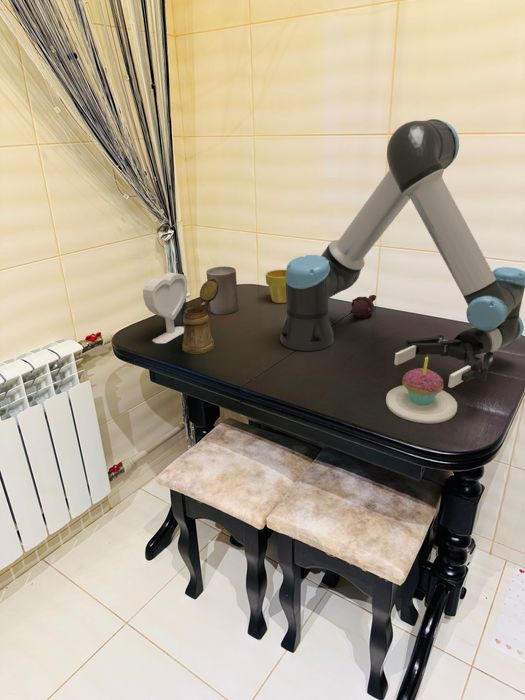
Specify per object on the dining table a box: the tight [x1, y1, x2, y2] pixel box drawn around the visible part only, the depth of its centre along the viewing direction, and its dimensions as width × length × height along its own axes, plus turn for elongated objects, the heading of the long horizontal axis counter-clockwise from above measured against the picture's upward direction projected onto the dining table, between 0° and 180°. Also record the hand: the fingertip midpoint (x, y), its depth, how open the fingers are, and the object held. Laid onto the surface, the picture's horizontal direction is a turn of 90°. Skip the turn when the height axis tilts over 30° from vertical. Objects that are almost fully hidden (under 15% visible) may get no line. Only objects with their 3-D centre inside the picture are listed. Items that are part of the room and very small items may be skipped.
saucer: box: [385, 384, 458, 425], centre depth 112 cm, size 15×15×1 cm
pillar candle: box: [206, 266, 239, 316], centre depth 167 cm, size 10×10×15 cm
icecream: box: [349, 294, 377, 319], centre depth 159 cm, size 7×7×15 cm
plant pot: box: [265, 268, 286, 304], centre depth 175 cm, size 10×10×10 cm
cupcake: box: [401, 355, 444, 406], centre depth 109 cm, size 9×8×12 cm
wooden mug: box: [181, 278, 219, 355], centre depth 140 cm, size 9×14×18 cm, turn 146°
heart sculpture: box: [142, 272, 188, 344], centre depth 148 cm, size 16×5×18 cm, turn 150°
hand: (421, 370), depth 107 cm, fingers open, 13 cm apart
